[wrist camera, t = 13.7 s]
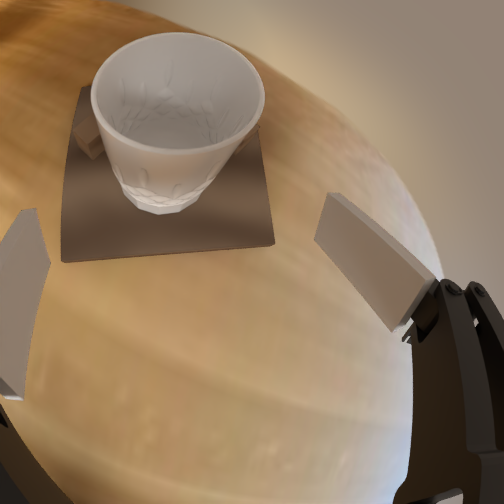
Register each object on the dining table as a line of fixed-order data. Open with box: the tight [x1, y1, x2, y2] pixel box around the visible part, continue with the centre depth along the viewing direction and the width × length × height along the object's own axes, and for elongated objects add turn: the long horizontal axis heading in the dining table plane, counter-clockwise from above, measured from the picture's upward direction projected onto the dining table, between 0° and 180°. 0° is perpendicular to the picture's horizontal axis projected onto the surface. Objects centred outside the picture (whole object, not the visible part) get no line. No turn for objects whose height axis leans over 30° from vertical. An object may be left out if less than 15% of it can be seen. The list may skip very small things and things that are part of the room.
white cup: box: [91, 32, 265, 215], centre depth 14 cm, size 8×8×10 cm
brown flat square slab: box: [61, 86, 275, 263], centre depth 19 cm, size 16×16×3 cm
